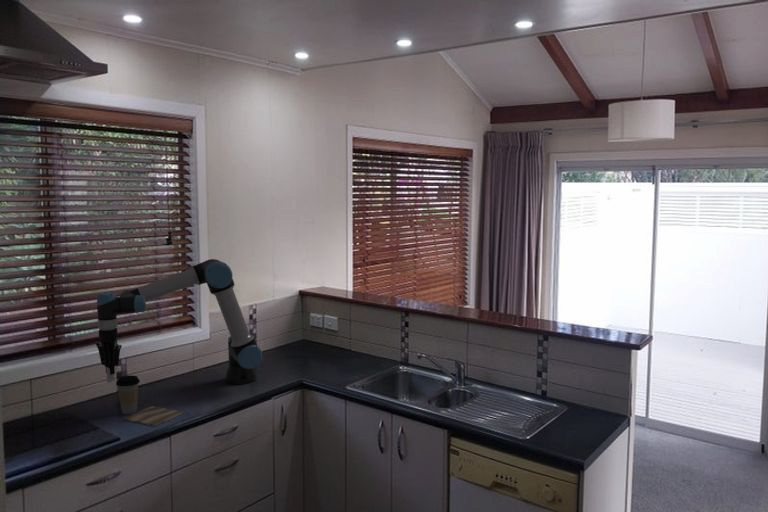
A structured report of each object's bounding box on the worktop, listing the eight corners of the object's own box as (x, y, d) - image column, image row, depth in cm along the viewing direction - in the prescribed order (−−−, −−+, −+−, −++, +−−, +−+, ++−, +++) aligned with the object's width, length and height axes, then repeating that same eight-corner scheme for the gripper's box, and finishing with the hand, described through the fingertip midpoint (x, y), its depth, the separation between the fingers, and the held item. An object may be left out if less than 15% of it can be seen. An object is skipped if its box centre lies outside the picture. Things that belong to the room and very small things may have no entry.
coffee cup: (113, 415, 268) (111, 381, 266) (125, 407, 277) (124, 374, 275) (133, 416, 266) (131, 382, 265) (145, 408, 276) (143, 375, 274)
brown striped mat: (183, 413, 270) (183, 412, 269) (156, 426, 255) (156, 425, 255) (152, 407, 277) (151, 406, 277) (123, 419, 262) (123, 418, 262)
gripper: (89, 328, 271) (93, 381, 274) (111, 331, 266) (114, 385, 268) (104, 325, 278) (107, 376, 281) (125, 328, 272) (128, 380, 275)
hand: (110, 381), depth 275 cm, fingers closed
